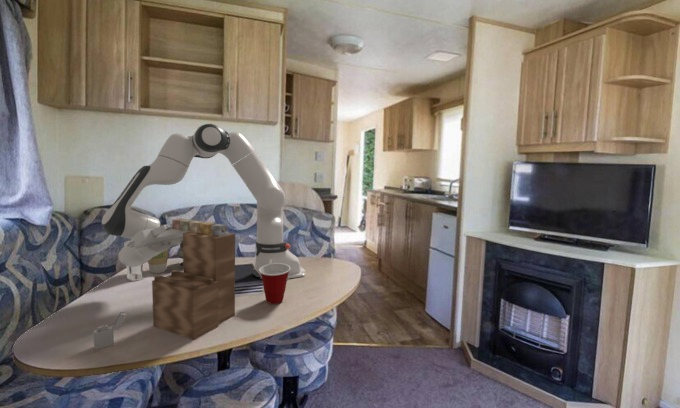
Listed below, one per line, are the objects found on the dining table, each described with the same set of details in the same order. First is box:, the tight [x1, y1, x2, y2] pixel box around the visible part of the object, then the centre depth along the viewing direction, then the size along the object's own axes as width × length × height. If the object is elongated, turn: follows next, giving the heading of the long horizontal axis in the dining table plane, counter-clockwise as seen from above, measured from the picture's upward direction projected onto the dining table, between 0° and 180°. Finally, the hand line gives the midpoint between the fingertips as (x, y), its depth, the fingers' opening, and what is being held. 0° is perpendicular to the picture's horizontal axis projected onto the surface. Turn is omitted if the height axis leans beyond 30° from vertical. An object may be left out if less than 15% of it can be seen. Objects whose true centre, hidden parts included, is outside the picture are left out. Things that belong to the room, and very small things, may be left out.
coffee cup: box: [147, 248, 170, 274], centre depth 150 cm, size 10×10×15 cm
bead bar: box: [171, 218, 228, 237], centre depth 108 cm, size 20×3×3 cm, turn 65°
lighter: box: [93, 311, 127, 350], centre depth 91 cm, size 7×2×8 cm, turn 126°
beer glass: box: [123, 239, 145, 282], centre depth 139 cm, size 7×7×15 cm
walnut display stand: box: [151, 232, 236, 341], centre depth 104 cm, size 16×17×26 cm
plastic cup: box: [259, 263, 290, 305], centre depth 123 cm, size 11×11×12 cm
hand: (179, 224), depth 112 cm, fingers open, 8 cm apart
